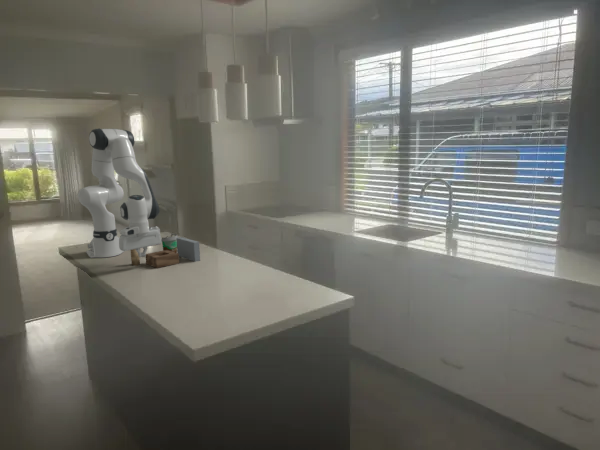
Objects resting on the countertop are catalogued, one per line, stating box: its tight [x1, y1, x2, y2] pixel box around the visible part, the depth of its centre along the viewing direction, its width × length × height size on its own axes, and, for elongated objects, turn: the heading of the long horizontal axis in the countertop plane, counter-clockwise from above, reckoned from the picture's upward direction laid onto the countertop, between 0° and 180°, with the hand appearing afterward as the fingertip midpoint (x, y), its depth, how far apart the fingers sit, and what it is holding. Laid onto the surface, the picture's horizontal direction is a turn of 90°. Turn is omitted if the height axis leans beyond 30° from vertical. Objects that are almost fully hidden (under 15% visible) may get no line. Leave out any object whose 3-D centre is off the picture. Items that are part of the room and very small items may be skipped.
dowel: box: [130, 249, 141, 267], centre depth 223 cm, size 4×4×8 cm
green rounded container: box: [161, 233, 179, 253], centre depth 245 cm, size 12×6×10 cm, turn 168°
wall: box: [177, 236, 201, 262], centre depth 233 cm, size 18×3×10 cm, turn 44°
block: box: [145, 250, 180, 269], centre depth 223 cm, size 12×12×5 cm
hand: (142, 256), depth 215 cm, fingers closed
